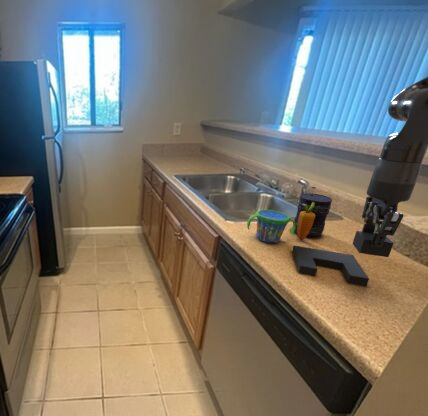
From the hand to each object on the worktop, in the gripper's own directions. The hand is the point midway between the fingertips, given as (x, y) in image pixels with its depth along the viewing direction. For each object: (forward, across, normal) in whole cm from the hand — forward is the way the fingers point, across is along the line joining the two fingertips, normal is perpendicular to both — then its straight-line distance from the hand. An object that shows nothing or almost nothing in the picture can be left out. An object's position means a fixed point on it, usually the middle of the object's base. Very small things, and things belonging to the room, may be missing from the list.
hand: (370, 241), depth 71 cm
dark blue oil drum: (+15, +35, +5) cm, 39 cm away
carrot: (+15, +28, +8) cm, 32 cm away
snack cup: (+15, +24, +19) cm, 34 cm away
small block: (+3, 0, 0) cm, 3 cm away
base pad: (+15, +9, +4) cm, 18 cm away
